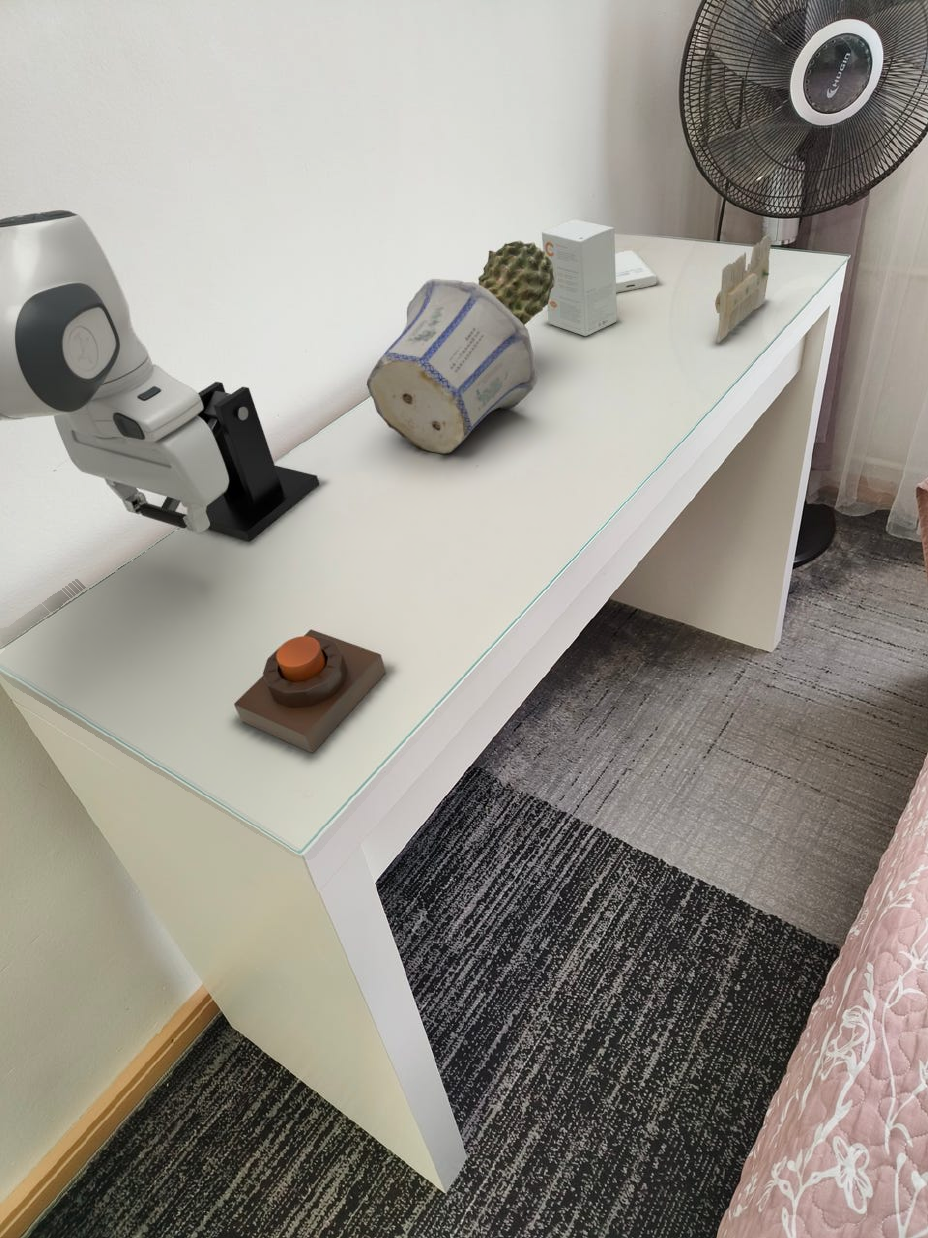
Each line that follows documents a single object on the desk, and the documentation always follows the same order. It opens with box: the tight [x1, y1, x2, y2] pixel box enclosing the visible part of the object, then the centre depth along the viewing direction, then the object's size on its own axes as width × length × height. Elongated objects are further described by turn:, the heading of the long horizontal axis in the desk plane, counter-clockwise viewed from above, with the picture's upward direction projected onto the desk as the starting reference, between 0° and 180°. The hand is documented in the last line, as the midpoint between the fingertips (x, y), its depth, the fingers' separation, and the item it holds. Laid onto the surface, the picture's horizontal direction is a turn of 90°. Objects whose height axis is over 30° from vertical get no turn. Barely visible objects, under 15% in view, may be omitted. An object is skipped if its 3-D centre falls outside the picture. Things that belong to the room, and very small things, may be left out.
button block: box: [233, 629, 387, 754], centre depth 71 cm, size 10×8×4 cm
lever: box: [140, 391, 231, 529], centre depth 88 cm, size 15×6×2 cm, turn 148°
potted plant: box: [366, 240, 555, 455], centre depth 102 cm, size 18×18×30 cm
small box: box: [541, 218, 618, 337], centre depth 118 cm, size 8×6×13 cm
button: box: [276, 635, 325, 682], centre depth 69 cm, size 4×4×2 cm
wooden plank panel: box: [714, 233, 772, 343], centre depth 112 cm, size 15×2×10 cm, turn 144°
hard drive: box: [615, 249, 658, 294], centre depth 133 cm, size 2×8×12 cm
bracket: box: [197, 381, 320, 542], centre depth 93 cm, size 12×9×14 cm
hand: (168, 519), depth 87 cm, fingers open, 8 cm apart
